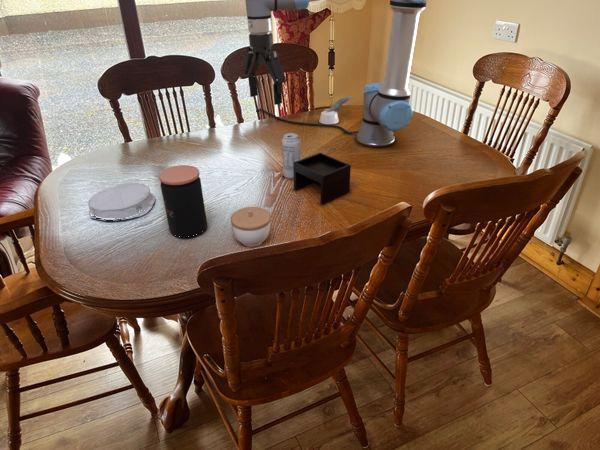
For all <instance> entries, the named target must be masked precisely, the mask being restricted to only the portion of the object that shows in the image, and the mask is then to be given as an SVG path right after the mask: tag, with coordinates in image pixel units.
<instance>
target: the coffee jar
mask: <svg viewBox="0 0 600 450" xmlns="http://www.w3.org/2000/svg"><path fill="white" fill-rule="evenodd" d="M158 179H159V181H160V190H161V196H162V200H163V205H164V210H165V214H166V219H167V224H168V229H169V232H170V233H171V235H173V236H175V235H176V236H175V237H176V238H178V239H182V240H183V239H186V240H188V239H193V238H196V237H199V236H201V235H202V234H203V233H204V232H205V231H206V229H207V227H208V221H207V220H208V219H207V214H206V208H205V201H204V194H203V188H202V187H203V186H202V181H201V177H200V170H199V168H198V167H196V166H193V165H188V164H179V165H178V164H177V165H173V166H169V167H167V168H164V169H162V170H161V171H160V172H159V174H158ZM202 231H203V232H202ZM196 234H197V235H196ZM193 235H194V236H193ZM179 236H180V237H179ZM188 236H189V237H188Z"/></svg>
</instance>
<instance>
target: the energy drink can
mask: <svg viewBox="0 0 600 450" xmlns="http://www.w3.org/2000/svg"><path fill="white" fill-rule="evenodd" d="M281 151H282V153H281V154H282V155H281V156H282V175H283V176H284V178H285V179H287V180H294V172H293V171H294V170H293V163H294V162H296V161H299V160H301V139H300V138H299V135H298V134H297V133H295V132H294V133H293V132H289V133H285V134H283V137H282V140H281Z"/></svg>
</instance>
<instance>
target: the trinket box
mask: <svg viewBox="0 0 600 450" xmlns="http://www.w3.org/2000/svg"><path fill="white" fill-rule="evenodd" d="M271 218H272V217H271V213H270V212H269V211H268V210H267V209H265V208H263V207H259V206H245V207H242V208H240V209H236V210H235V211H234V212H232V214H231V216H230V224H231V229H232V232H233V236H234V237H235V238H236V239H237V241H238V242H239V243H241V244H243V245H244V246H245V247H249V248H250V247H251V248H252V247H258V246H260V245H262V244H263V242H264V241H265V240H267V238H268V236H269V235H270V231H271V221H272V219H271ZM259 243H260V244H259Z"/></svg>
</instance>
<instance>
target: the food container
mask: <svg viewBox="0 0 600 450" xmlns="http://www.w3.org/2000/svg"><path fill="white" fill-rule="evenodd" d="M155 201H156V197H155V196H154V194H153V193H152V192H151V189H150V186H148V185H147V184H144V183H142V182H141V183H140V182H124V183H119V184H116V185H114V186H110V187H107V188H105V189H102V190H101V191H98V192H96V193H95V194H93V195H92V196H91V197H90V198H89V199H88V205H87V207H88V209H89V210H88V217H89V218H91V219H96V216H98V217H101V218H115V219H117V218H118V219H119V218H120V219H121V221H124V220H130V219H134V218H138V217H142V216H144V215H146V214H147V213H148V212H149V211H151V209H152V208H153V207H154V206H153V205H154V203H155ZM141 210H142V211H141ZM144 210H145V211H144ZM139 211H140V213H139ZM90 213H91V214H92V215H94V216H91V214H90ZM136 214H138V215H136ZM95 215H96V216H95ZM133 215H135V216H133ZM130 216H132V217H130ZM126 217H129V218H126ZM122 218H125V219H122ZM96 220H97V219H96ZM99 220H101V221H105V220H104V219H99Z"/></svg>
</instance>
